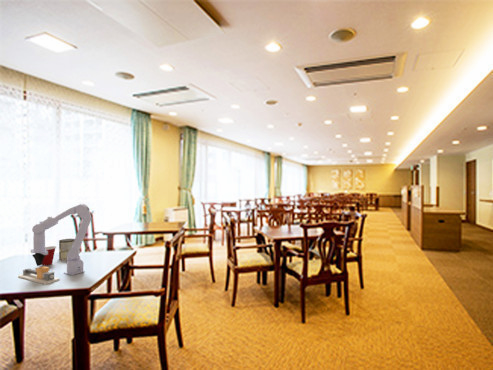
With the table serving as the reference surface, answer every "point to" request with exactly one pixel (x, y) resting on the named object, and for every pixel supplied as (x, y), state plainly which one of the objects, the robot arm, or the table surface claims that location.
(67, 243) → the coffee can
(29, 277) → the cord board
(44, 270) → the marker sleeve
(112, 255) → the table surface
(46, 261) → the plastic cup
